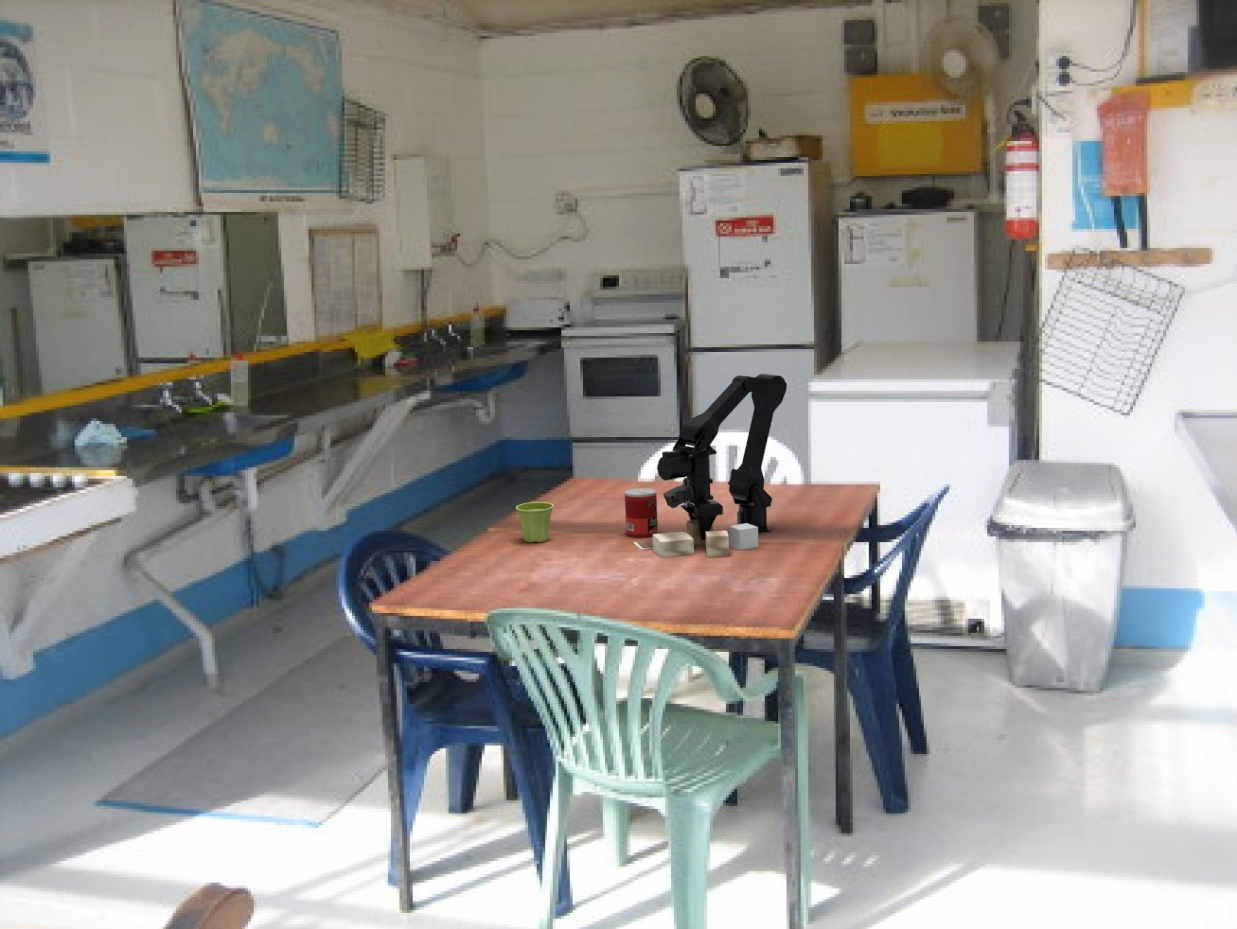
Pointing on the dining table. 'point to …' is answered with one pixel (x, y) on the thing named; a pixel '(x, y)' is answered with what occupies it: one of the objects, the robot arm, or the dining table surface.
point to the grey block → (743, 536)
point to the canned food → (641, 512)
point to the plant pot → (535, 520)
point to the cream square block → (673, 544)
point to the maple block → (717, 543)
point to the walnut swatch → (644, 544)
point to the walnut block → (695, 531)
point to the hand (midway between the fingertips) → (700, 537)
